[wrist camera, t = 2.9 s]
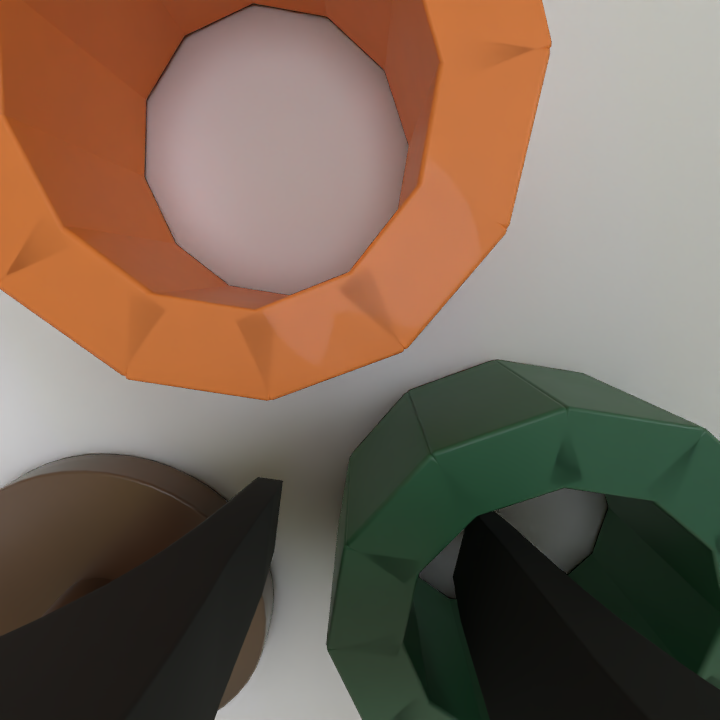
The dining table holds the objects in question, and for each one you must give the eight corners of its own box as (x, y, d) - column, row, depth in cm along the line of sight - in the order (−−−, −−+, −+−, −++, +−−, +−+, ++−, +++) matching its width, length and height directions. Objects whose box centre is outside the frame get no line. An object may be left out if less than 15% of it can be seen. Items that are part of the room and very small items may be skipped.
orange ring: (550, 129, 9) (682, 28, 5) (311, 416, 10) (284, 492, 7) (225, -193, 7) (97, -627, 4) (12, 192, 9) (-217, 140, 5)
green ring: (724, 496, 11) (903, 606, 7) (502, 686, 12) (558, 852, 9) (492, 292, 9) (570, 303, 6) (279, 534, 11) (240, 656, 7)
